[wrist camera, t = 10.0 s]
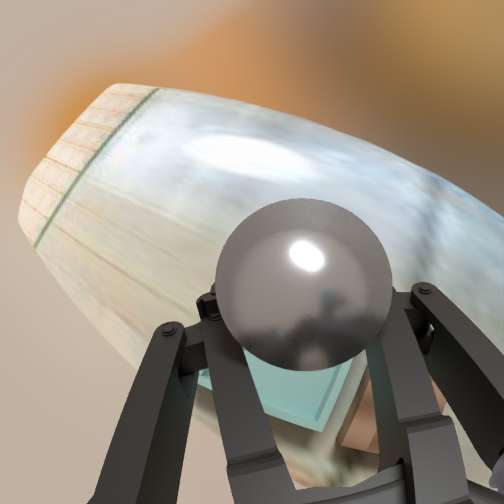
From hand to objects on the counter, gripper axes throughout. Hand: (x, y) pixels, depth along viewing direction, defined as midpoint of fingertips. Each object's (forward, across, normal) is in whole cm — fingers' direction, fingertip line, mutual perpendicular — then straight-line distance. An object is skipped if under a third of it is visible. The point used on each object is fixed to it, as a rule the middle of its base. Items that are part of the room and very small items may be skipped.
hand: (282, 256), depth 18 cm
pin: (+1, 0, -6) cm, 6 cm away
